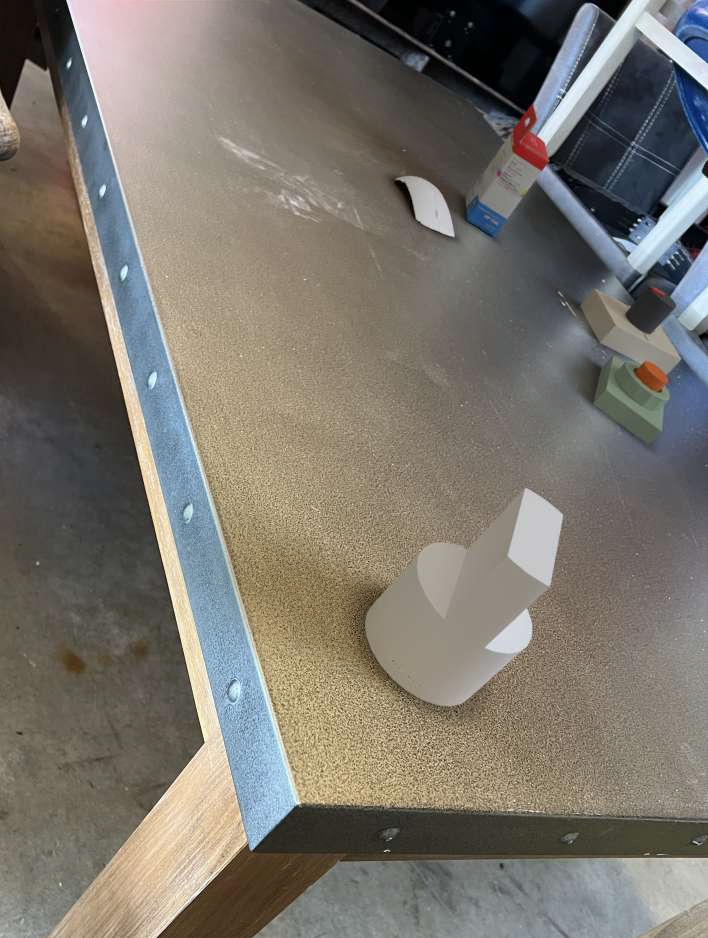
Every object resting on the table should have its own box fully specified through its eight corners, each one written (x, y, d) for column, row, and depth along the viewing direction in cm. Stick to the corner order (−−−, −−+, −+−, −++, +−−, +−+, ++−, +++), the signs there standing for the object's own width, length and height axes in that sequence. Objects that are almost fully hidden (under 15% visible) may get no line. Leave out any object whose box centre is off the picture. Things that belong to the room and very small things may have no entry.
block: (601, 368, 120) (624, 343, 117) (652, 406, 120) (676, 382, 118) (592, 404, 111) (617, 377, 108) (648, 445, 111) (674, 420, 108)
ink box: (494, 239, 132) (566, 141, 123) (464, 220, 131) (535, 119, 122) (492, 216, 138) (560, 121, 129) (463, 198, 137) (531, 101, 128)
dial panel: (643, 339, 136) (659, 321, 134) (665, 376, 130) (682, 358, 128) (579, 305, 132) (595, 287, 130) (599, 343, 126) (616, 323, 124)
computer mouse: (417, 223, 120) (428, 207, 119) (388, 173, 127) (398, 157, 126) (458, 241, 124) (469, 225, 122) (427, 191, 131) (437, 176, 129)
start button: (634, 368, 114) (644, 356, 113) (658, 386, 115) (669, 375, 113) (632, 378, 112) (643, 367, 110) (657, 397, 112) (668, 386, 111)
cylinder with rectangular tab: (463, 730, 62) (592, 619, 54) (349, 651, 62) (463, 527, 54) (484, 649, 69) (601, 540, 61) (382, 577, 69) (487, 458, 61)
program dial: (644, 320, 132) (671, 291, 128) (655, 338, 129) (682, 309, 126) (621, 307, 130) (647, 278, 127) (631, 326, 127) (658, 296, 124)
